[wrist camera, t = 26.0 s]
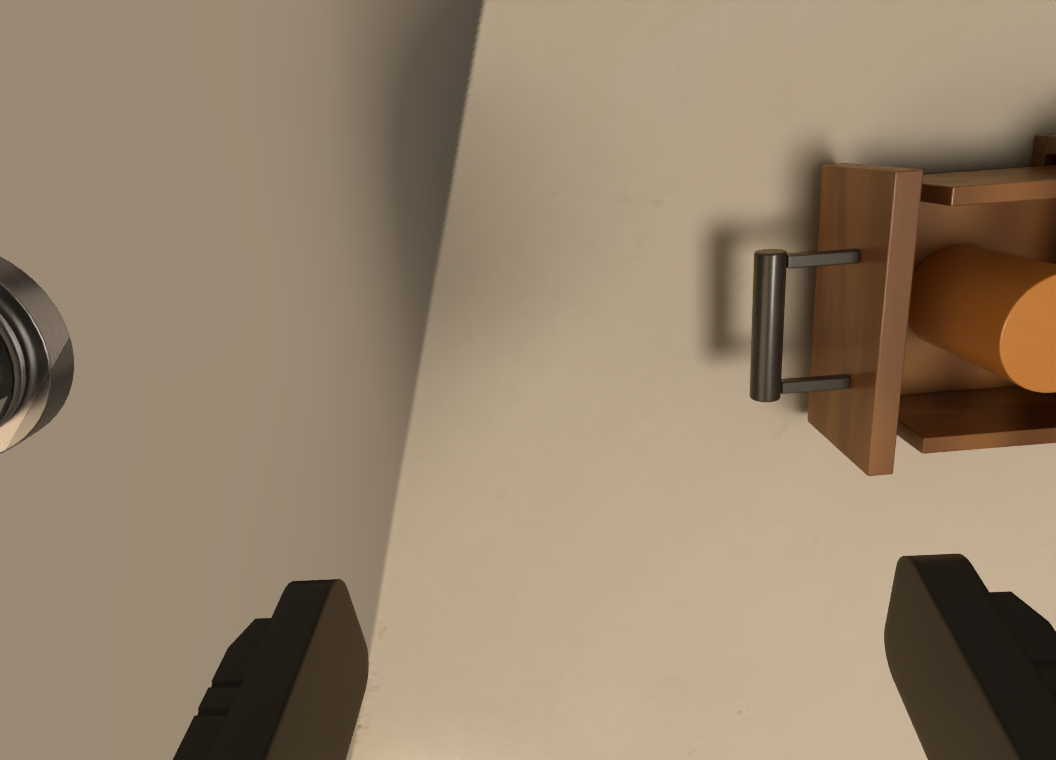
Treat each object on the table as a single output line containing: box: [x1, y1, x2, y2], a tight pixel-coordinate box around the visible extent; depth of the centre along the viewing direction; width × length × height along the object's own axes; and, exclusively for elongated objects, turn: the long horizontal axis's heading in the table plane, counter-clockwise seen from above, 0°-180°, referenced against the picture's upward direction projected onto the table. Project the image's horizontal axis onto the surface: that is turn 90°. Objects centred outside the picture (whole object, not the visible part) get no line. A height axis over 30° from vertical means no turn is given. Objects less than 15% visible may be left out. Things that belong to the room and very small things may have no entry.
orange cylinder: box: [908, 245, 1056, 393], centre depth 34 cm, size 5×5×8 cm
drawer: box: [750, 163, 1056, 476], centre depth 35 cm, size 18×14×7 cm
